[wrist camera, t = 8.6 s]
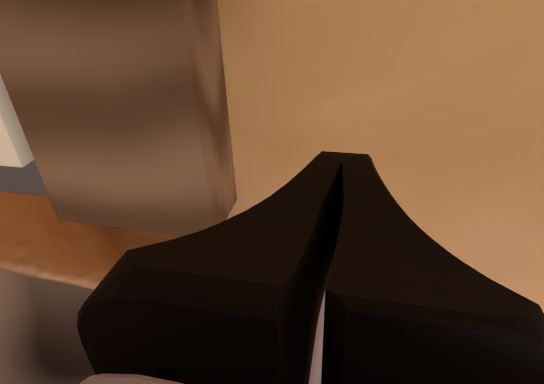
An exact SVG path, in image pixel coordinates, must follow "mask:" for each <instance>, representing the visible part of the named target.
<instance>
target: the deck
mask: <svg viewBox="0 0 544 384" xmlns="http://www.w3.org/2000/svg"><path fill="white" fill-rule="evenodd" d="M0 74H1V77H2V79H3V82H4V84H5V87H6V89H7V92H8V95H9V97H10V100H11V102H12V105H13V107H14V110H15V112H16V115H17V117H18V120H19V122H20V125H21V127H22V130H23V132H24V135H25V137H26V140H27V142H28V145H29V147H30V150H31V152H32V155H33V157H34V160H35V162H36V165H37V167H38V170H39V172H40V175H41V177H42V180H43V182H44V185H45V187H46V190H47V192H48V195H49V198H50V200H51V203H52V205H53V208H54V210H55V213H56V215H57V218H58V220H60V221H68V222H76V223H84V224H93V225H101V226H109V227H118V228H126V229H134V230H143V231H151V232H159V233H168V234H176V235H184V236H186V235H189V234H192V233H195V232H198V231H201V230H203V229H206V228H209V227H211V226H214V225H216V224H218V223H221V222H223V221H225V220H226V219H227V217H228V215H229V213H230V211H231V209H232V208H233V206H234V204H235V202H236V200H237V197H236V187H235V177H234V167H233V157H232V147H231V138H230V128H229V118H228V108H227V98H226V88H225V78H224V68H223V59H222V49H221V39H220V29H219V19H218V9H217V0H0Z"/></svg>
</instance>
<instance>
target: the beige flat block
mask: <svg viewBox="0 0 544 384" xmlns="http://www.w3.org/2000/svg"><path fill="white" fill-rule="evenodd" d="M33 160H34V157H33V155H32V152H31V150H30V147H29V145H28V142H27V140H26V137H25V135H24V132H23V130H22V127H21V125H20V122H19V120H18V117H17V115H16V112H15V110H14V107H13V105H12V102H11V100H10V97H9V95H8V92H7V89H6V87H5V84H4V82H3V79H2V77H1V74H0V166H11V167H24V166H26V165H27V164H29V163H30V162H32V161H33Z"/></svg>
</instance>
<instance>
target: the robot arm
mask: <svg viewBox="0 0 544 384" xmlns="http://www.w3.org/2000/svg"><path fill="white" fill-rule="evenodd" d="M77 328H78V332H79V335H80V339H81V342H82V345H83V347H84V349H85V352H86V354H87V356H88V358H89V361H90V363H91V365H92V367H93V369H94V372H95V374H96V375H94V376H90V377H89V378H87V379H86V380H84V381H83V382H81V383H80V384H544V313H543V311H542V309H541V307H540V306H539V305H538V304H536V303H535V302H533V301H531V300H529V299H527V298H525V297H523V296H521V295H519V294H517V293H516V292H514V291H512V290H510V289H508V288H506V287H504V286H502V285H500V284H498V283H497V282H495V281H493V280H491V279H489V278H488V277H486V276H484V275H483V274H481V273H479V272H478V271H476V270H475V269H473V268H472V267H470V266H468V265H467V264H465V263H464V262H462V261H461V260H459V259H458V258H457V257H455V256H454V255H452V254H451V253H449V252H448V251H447V250H446V249H444V248H443V247H442V246H440V245H439V244H438V243H437V242H435V241H434V240H433V239H432V238H430V237H429V236H428V235H427V234H426V233H425V232H424V231H422V230H421V229H420V228H419V227H418V226H417V225H416V224H415V223H414V222H413V221H412V220H411V219H410V218H409V217H408V215H407V214H406V213H405V212H404V211H403V210H402V208H401V207H400V206H399V205H398V203H397V202H396V201H395V199H394V198H393V197H392V195H391V194H390V192H389V191H388V189H387V188H386V186H385V185H384V183H383V181H382V180H381V178H380V176H379V174H378V173H377V171H376V169H375V167H374V164H373V162H372V159H371V157H370V156H369V155H368V154H355V153H340V152H325V151H322V152H321V153H319V154H318V155H317V156H316V157H315V158H314V159H313V160H312V161H311V162H310V163H309V164H308V165H307V166H306V167H305V168H304V169H303V170H302V171H301V172H299V173H298V174H297V175H296V176H295V177H294V178H293V179H291V180H290V181H289V182H288V183H287V184H286V185H284V186H283V187H282V188H280V189H279V190H278V191H276V192H275V193H274V194H272V195H271V196H270V197H268V198H266V199H265V200H263V201H262V202H260V203H258V204H257V205H255V206H253V207H251V208H250V209H248V210H246V211H244V212H242V213H240V214H238V215H236V216H234V217H232V218H229V219H227V220H225V221H223V222H221V223H218V224H216V225H214V226H211V227H209V228H206V229H203V230H201V231H198V232H195V233H192V234H189V235H186V236H183V237H179V238H176V239H173V240H169V241H165V242H161V243H157V244H153V245H149V246H145V247H140V248H136V249H131V250H127V251H126V252H125V254H124V255H123V256H122V257H121V258H120V259H119V260H118V262H117V263H116V264H115V265H114V266H113V268H112V269H111V270H110V271H109V273H108V274H107V275H106V276H105V278H104V279H103V280H102V281H101V282H100V284H99V285H98V286H97V287H96V289H95V290H94V291H93V293H92V294H91V295H90V296H89V297H88V299H87V300H86V301H85V303H84V304H83V306H82V307H81V309H80V310H79V312H78V319H77Z"/></svg>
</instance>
